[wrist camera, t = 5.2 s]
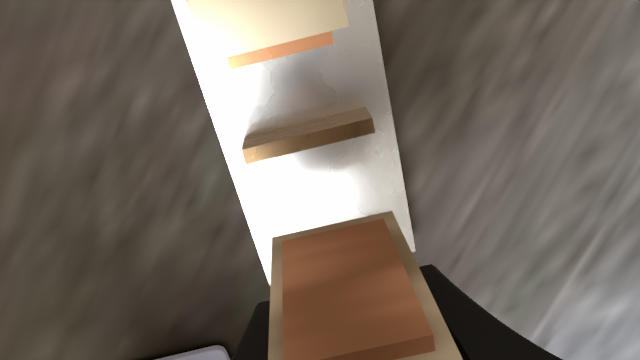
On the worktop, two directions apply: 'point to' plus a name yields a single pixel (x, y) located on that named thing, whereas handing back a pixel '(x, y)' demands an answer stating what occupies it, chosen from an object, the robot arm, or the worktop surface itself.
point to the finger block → (353, 296)
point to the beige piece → (298, 111)
